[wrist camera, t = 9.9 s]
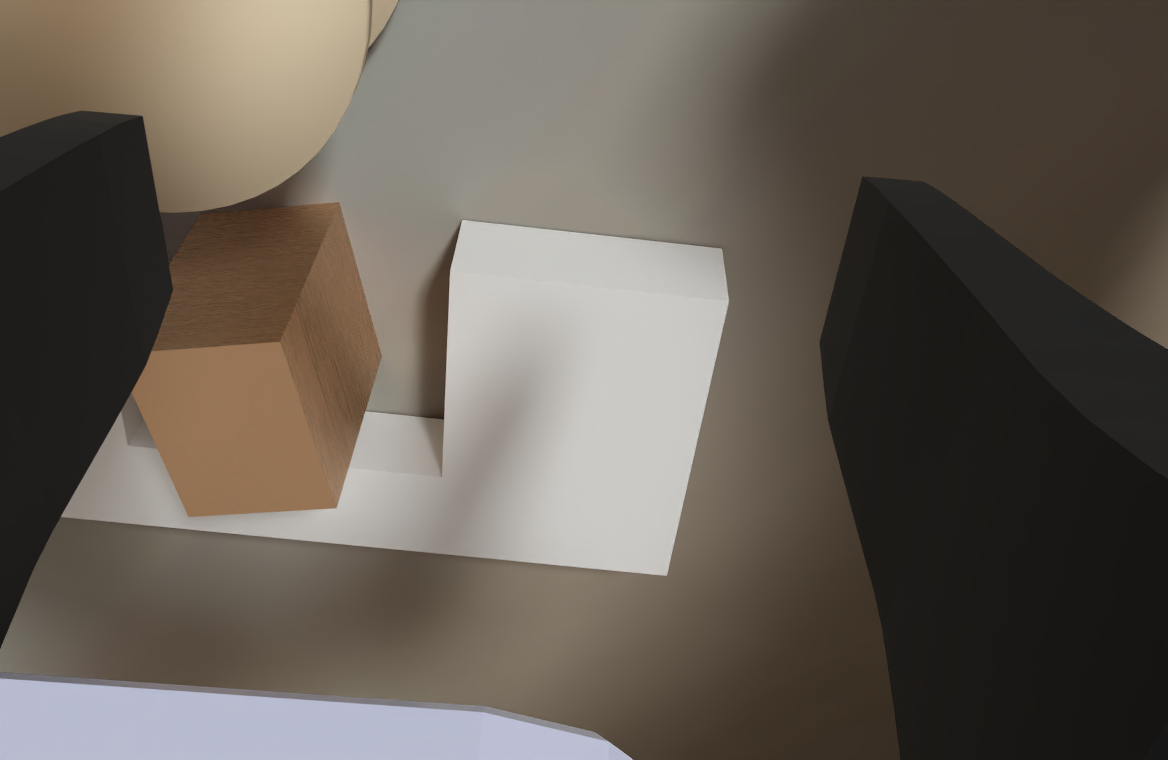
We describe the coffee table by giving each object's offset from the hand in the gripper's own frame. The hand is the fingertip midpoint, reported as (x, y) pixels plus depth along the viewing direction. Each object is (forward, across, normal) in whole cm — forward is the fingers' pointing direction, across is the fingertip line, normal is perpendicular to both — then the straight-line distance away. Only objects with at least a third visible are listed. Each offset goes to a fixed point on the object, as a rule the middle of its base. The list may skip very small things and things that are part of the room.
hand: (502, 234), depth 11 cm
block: (+10, +5, +8) cm, 14 cm away
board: (+10, +4, +10) cm, 15 cm away
